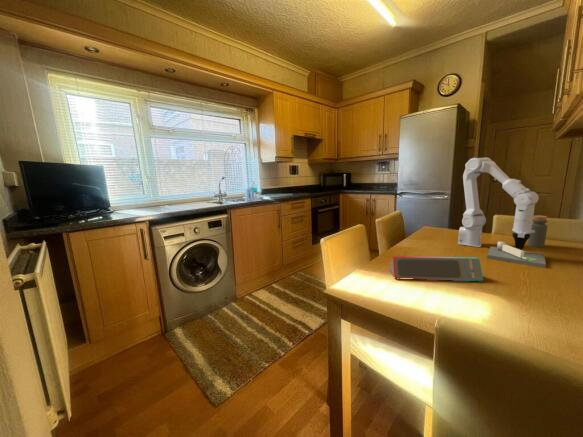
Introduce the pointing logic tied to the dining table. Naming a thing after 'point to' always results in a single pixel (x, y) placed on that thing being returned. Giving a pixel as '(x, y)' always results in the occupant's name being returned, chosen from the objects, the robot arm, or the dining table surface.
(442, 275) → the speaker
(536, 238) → the bottle
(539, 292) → the dining table surface
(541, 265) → the board
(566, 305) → the dining table surface
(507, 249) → the peg lever
